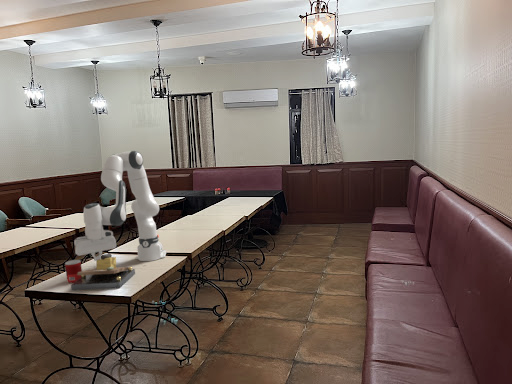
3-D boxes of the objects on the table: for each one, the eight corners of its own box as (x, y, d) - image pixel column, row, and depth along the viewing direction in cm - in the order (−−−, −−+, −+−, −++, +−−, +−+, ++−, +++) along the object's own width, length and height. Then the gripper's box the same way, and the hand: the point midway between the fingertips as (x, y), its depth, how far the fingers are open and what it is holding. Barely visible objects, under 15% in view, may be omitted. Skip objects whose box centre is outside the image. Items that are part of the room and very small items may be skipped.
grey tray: (91, 275, 230) (90, 267, 229) (135, 273, 228) (134, 265, 228) (71, 290, 208) (70, 281, 208) (119, 288, 206) (118, 278, 206)
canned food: (85, 280, 224) (82, 261, 222) (70, 284, 218) (67, 264, 217) (79, 277, 229) (77, 258, 228) (65, 281, 224) (62, 262, 222)
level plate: (94, 271, 228) (94, 254, 229) (128, 269, 227) (128, 252, 227) (77, 275, 209) (77, 257, 210) (114, 273, 208) (113, 255, 209)
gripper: (75, 239, 200) (78, 265, 201) (115, 231, 213) (118, 256, 214) (72, 237, 205) (75, 263, 206) (111, 230, 217) (114, 254, 219)
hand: (97, 260), depth 210 cm, fingers closed
